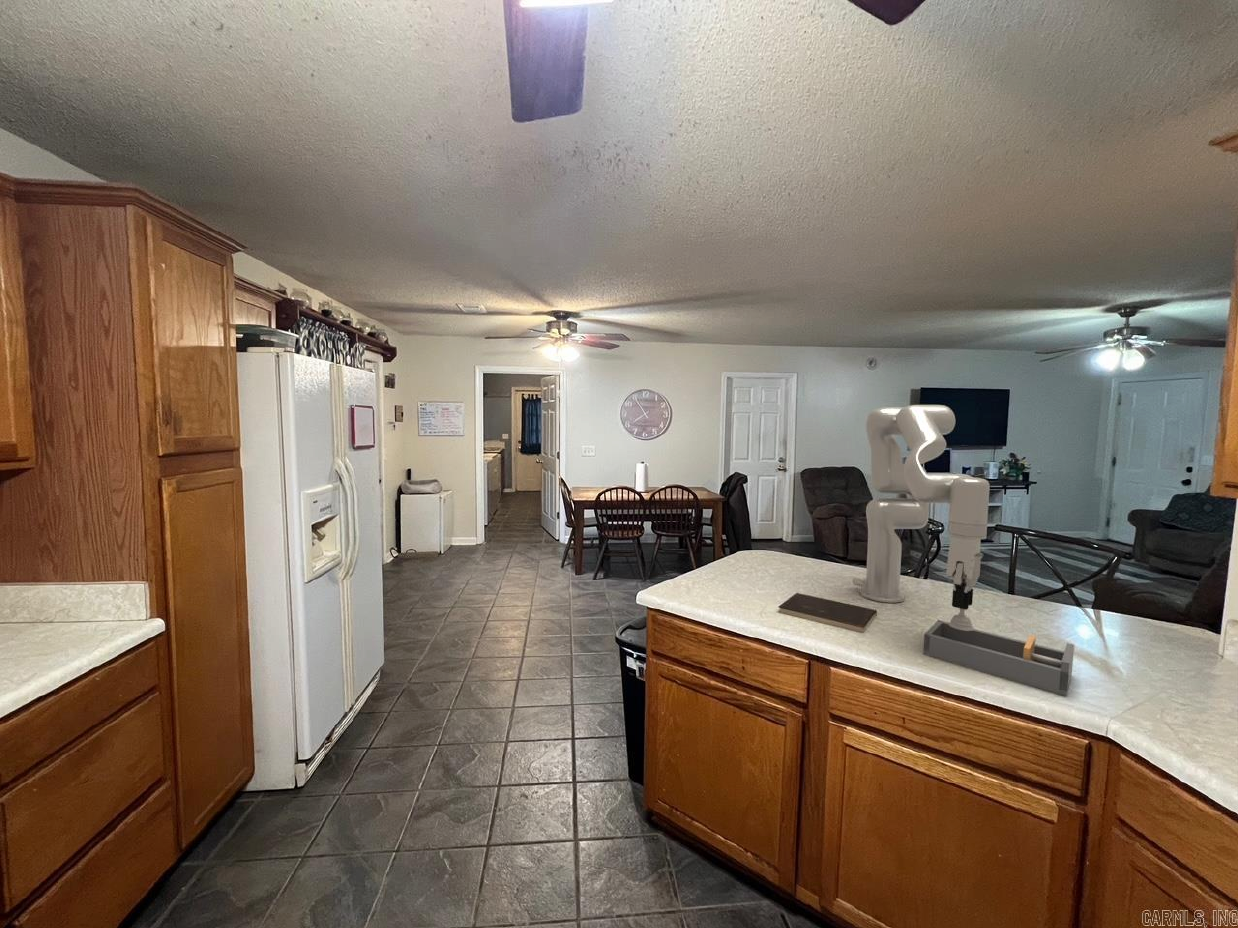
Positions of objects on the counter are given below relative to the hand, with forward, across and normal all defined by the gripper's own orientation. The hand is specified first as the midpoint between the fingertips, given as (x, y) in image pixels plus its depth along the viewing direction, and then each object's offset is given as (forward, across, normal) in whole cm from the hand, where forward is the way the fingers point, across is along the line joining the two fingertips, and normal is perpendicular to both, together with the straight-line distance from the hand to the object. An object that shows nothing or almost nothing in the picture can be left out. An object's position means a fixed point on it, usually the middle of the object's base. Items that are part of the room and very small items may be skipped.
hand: (962, 605), depth 121 cm
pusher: (+11, 0, +16) cm, 19 cm away
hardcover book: (+13, -3, -33) cm, 36 cm away
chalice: (+5, 0, 0) cm, 5 cm away
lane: (+12, 0, +7) cm, 14 cm away
